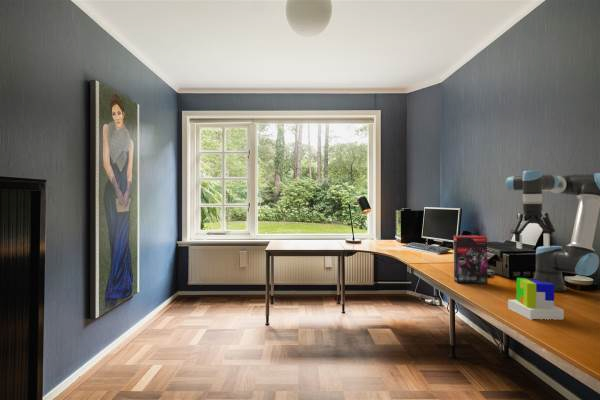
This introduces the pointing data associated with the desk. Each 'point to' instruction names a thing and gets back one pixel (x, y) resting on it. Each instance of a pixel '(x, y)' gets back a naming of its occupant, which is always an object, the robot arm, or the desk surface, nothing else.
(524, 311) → the plinth
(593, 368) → the desk surface
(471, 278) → the graphics card box
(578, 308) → the desk surface
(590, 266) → the robot arm
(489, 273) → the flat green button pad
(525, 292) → the puzzle toy
